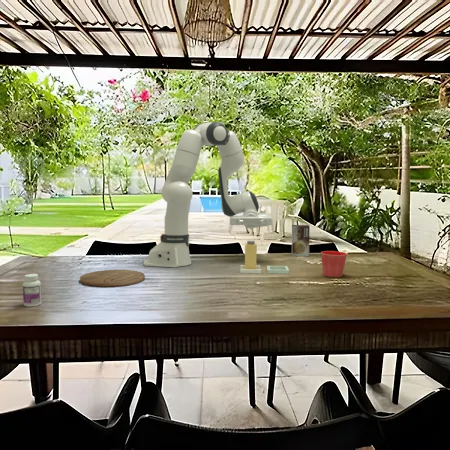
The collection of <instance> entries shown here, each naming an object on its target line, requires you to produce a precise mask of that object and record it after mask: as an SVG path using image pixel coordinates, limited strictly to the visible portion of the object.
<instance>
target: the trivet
mask: <svg viewBox="0 0 450 450" xmlns="http://www.w3.org/2000/svg"><path fill="white" fill-rule="evenodd" d="M145 277H146V275H145V273H143V272H142V271H138V270H132V269H105V270H98V271H91V272H87V273H84V274H82V275H81V276H79V283H80V285H83V286H86V287H91V288H121V287H128V286H134V285H138V284H140V283H142V282H144V281H145Z"/></svg>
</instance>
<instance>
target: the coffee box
mask: <svg viewBox="0 0 450 450" xmlns="http://www.w3.org/2000/svg"><path fill="white" fill-rule="evenodd" d="M310 231H311V229H310V225H309V224H292V225H291V256H292V257H310Z"/></svg>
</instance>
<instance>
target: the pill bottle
mask: <svg viewBox="0 0 450 450" xmlns="http://www.w3.org/2000/svg"><path fill="white" fill-rule="evenodd" d="M22 299H23V301H22V302H23V306H24V307H29V308H30V307H37V306H40V305H42V303H43V301H42V283H41V281H40V280H39V274H38V273H28V274H25V275H24V281H23V283H22Z"/></svg>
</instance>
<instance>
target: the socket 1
mask: <svg viewBox="0 0 450 450" xmlns="http://www.w3.org/2000/svg"><path fill="white" fill-rule="evenodd" d="M239 274H262V269H261V265H256V269H245V264H244V265H242V264H241V265H240V269H239Z"/></svg>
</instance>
